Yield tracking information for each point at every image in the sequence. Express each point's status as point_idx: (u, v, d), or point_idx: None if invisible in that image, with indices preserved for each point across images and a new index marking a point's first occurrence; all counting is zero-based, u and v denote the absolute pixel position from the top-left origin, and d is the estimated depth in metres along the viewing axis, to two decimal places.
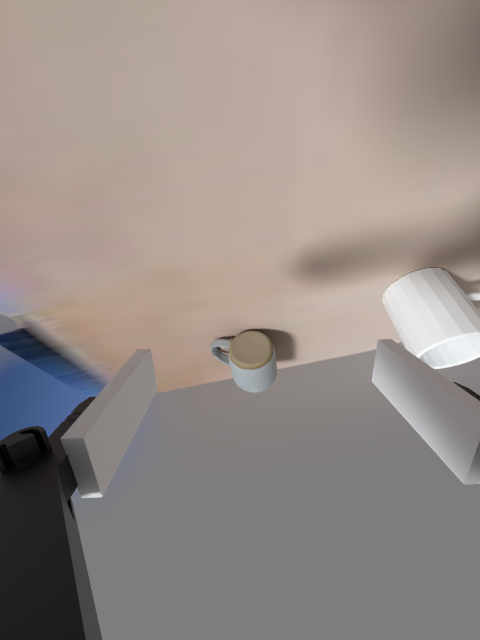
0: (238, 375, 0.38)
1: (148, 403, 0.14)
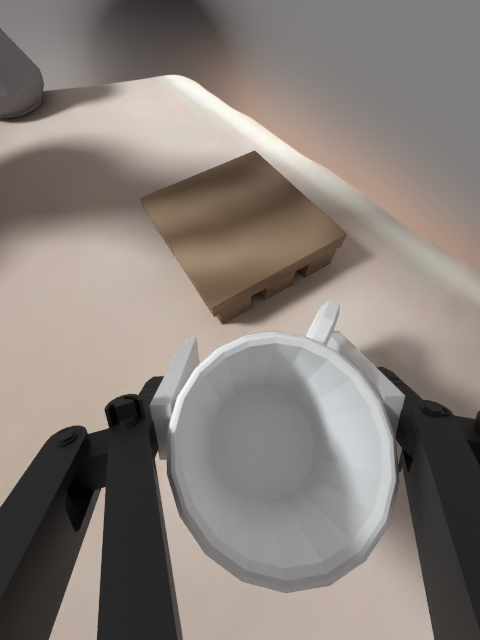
0: None
1: None
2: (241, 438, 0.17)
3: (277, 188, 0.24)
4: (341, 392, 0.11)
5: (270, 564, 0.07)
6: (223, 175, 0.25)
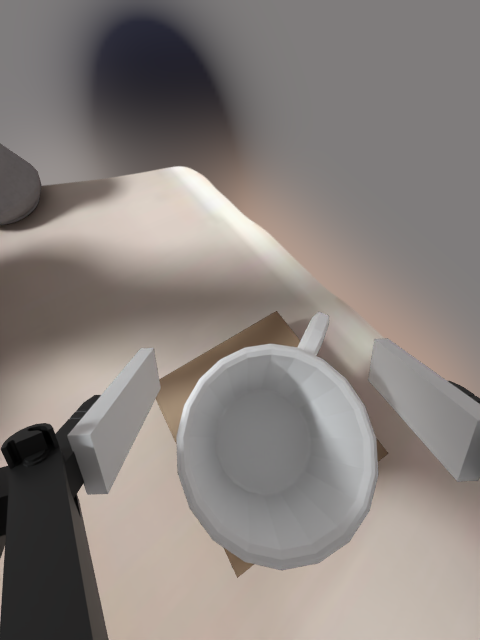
0: None
1: (151, 401, 0.14)
2: (241, 438, 0.18)
3: None
4: (330, 396, 0.12)
5: (268, 547, 0.09)
6: None
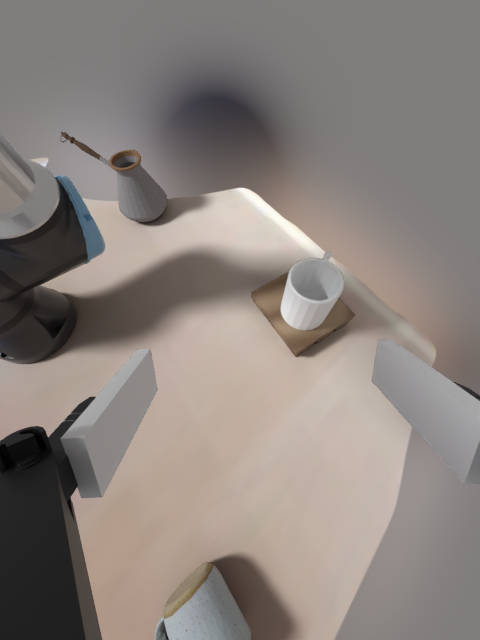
0: None
1: (148, 403, 0.14)
2: None
3: None
4: (331, 275, 0.39)
5: (316, 300, 0.35)
6: None
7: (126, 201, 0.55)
